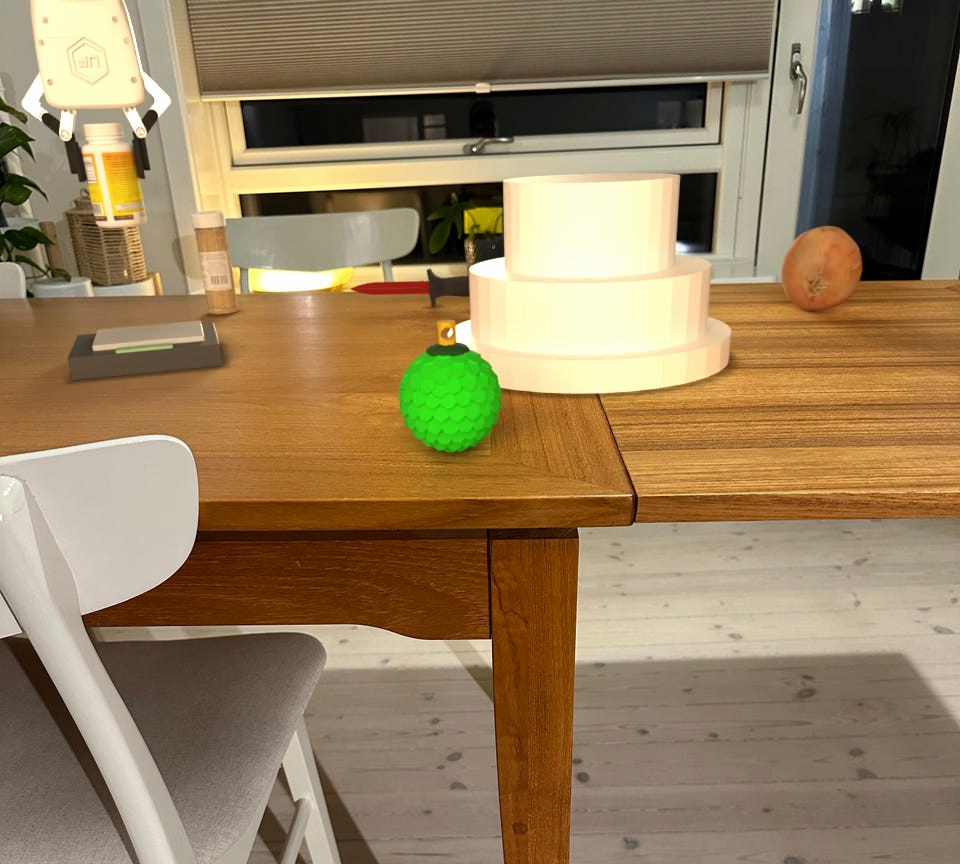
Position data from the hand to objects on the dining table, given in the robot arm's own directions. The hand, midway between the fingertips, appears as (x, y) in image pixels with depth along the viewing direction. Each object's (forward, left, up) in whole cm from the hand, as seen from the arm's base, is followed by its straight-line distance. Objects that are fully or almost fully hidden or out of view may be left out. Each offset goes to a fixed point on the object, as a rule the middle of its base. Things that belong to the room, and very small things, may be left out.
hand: (112, 178), depth 105 cm
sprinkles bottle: (+10, +26, -19) cm, 34 cm away
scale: (0, -4, -19) cm, 19 cm away
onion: (+83, -13, -19) cm, 86 cm away
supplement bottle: (0, 0, -5) cm, 5 cm away
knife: (+39, +16, -19) cm, 47 cm away
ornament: (+24, -52, -19) cm, 60 cm away
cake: (+46, -26, -19) cm, 56 cm away
